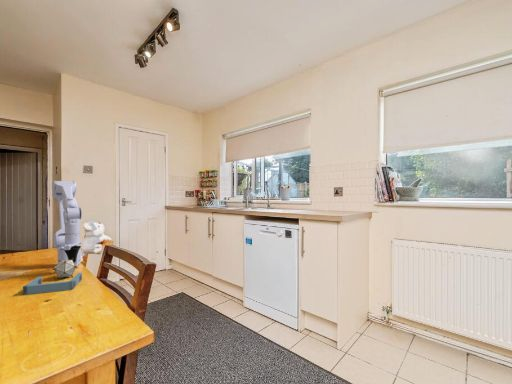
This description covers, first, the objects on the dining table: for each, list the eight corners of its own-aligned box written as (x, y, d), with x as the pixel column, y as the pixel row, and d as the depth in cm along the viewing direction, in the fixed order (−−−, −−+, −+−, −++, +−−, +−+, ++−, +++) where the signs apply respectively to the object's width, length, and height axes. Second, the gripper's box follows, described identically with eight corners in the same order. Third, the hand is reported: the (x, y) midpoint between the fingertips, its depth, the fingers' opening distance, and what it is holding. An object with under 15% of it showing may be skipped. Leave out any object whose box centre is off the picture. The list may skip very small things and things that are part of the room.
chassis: (82, 279, 106) (82, 272, 106) (72, 289, 95) (72, 281, 95) (38, 284, 101) (38, 276, 101) (22, 295, 90) (22, 286, 90)
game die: (60, 286, 108) (45, 268, 108) (80, 274, 115) (66, 257, 115) (64, 280, 103) (49, 261, 103) (85, 268, 110) (71, 250, 110)
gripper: (77, 235, 111) (77, 265, 111) (87, 230, 125) (87, 257, 125) (58, 236, 109) (58, 267, 109) (70, 231, 123) (70, 259, 123)
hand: (72, 262), depth 117 cm, fingers closed
